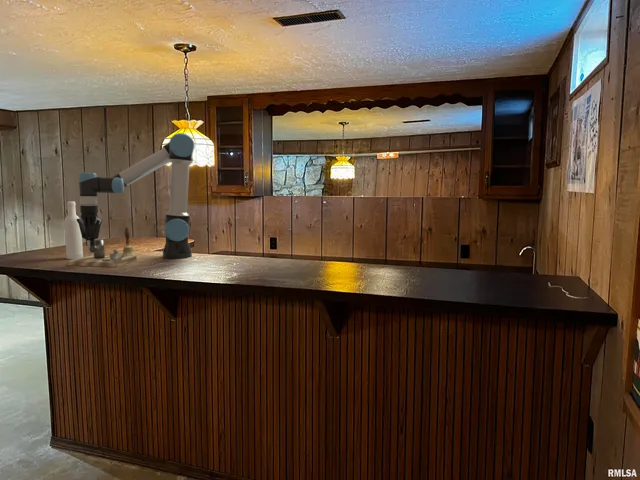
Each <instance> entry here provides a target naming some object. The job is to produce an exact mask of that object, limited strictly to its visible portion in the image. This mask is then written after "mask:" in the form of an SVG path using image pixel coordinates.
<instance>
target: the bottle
mask: <svg viewBox="0 0 640 480" xmlns="http://www.w3.org/2000/svg"><path fill="white" fill-rule="evenodd" d="M66 205H67V206H66V207H67V215H66V217H65V218H64V220H63V225H64V226H63V228H64V237H65V238H64V239H65V256H66V260H74V259H77V258H81V257H84V249H83V238H82V235H81V231H80V227H79V223H78V222H77V219H79V218H80V217H79V216H78V215H77V213H76V212H77V211H76V210H77V209H76V205H77V204H76V201H74V200H72V201H70V200H69V201H67V202H66Z"/></svg>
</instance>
